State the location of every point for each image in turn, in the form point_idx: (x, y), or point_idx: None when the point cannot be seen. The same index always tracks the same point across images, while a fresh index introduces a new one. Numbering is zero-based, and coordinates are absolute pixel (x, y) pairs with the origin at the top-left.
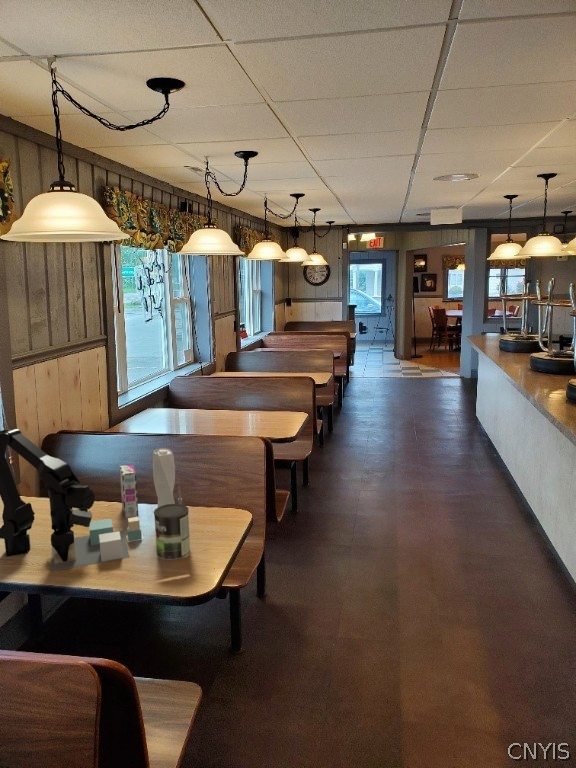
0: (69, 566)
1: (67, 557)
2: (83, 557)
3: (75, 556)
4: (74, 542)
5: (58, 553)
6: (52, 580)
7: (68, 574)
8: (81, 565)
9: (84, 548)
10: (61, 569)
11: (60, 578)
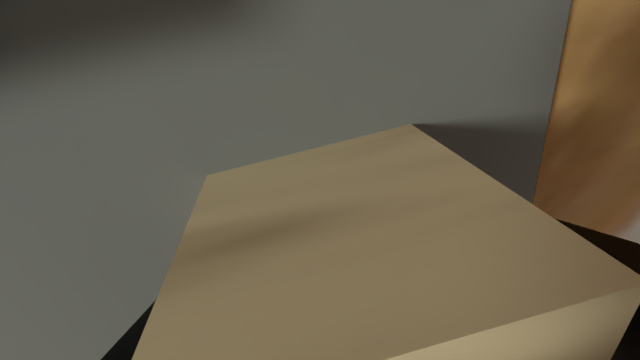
0: (514, 154)
1: None
2: (372, 55)
3: (430, 141)
4: (614, 261)
5: None
6: (606, 213)
7: (591, 132)
8: (552, 40)
9: (118, 94)
10: (530, 201)
11: (613, 173)
